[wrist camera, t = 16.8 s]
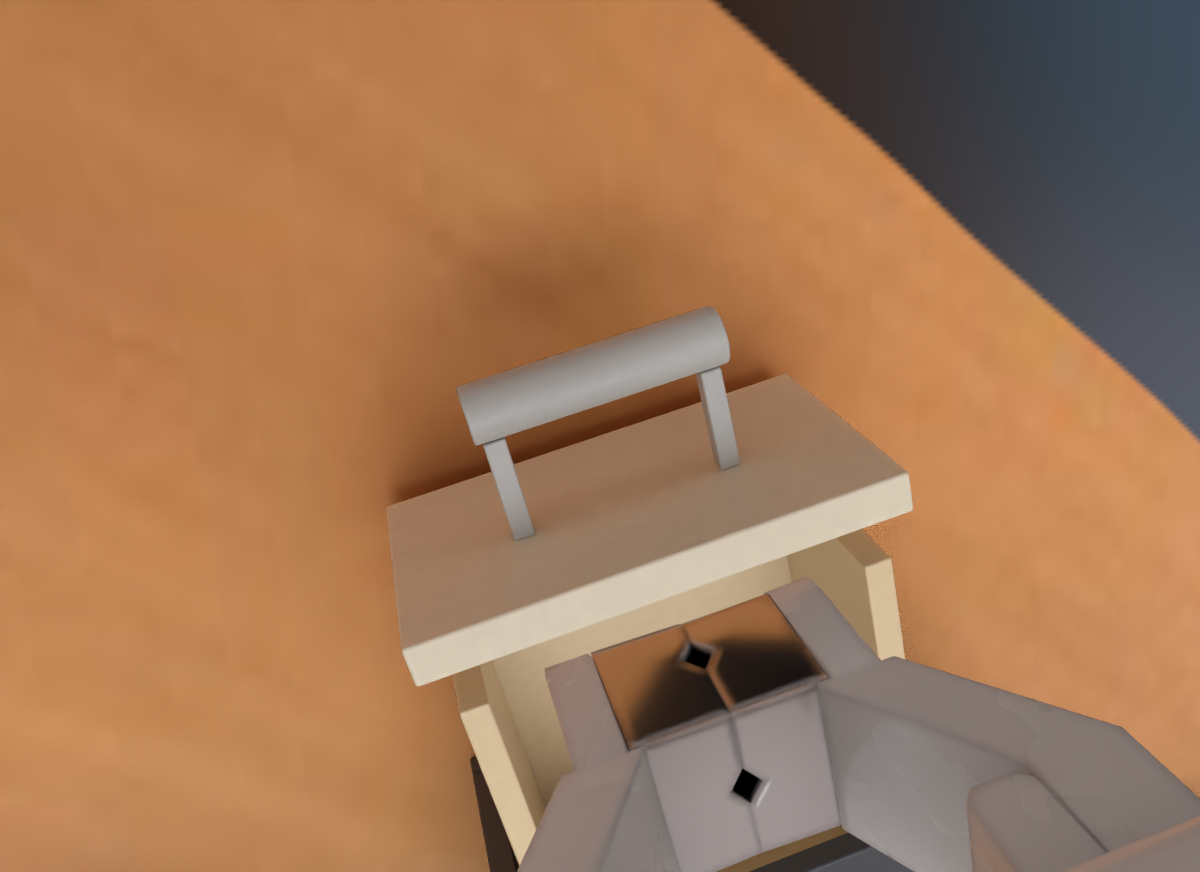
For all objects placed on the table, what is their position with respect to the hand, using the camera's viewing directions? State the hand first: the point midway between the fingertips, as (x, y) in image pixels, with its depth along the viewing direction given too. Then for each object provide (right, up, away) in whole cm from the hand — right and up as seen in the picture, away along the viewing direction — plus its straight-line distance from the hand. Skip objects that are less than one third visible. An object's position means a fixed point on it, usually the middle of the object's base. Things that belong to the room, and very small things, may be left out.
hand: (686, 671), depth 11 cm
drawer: (0, -2, +23) cm, 23 cm away
